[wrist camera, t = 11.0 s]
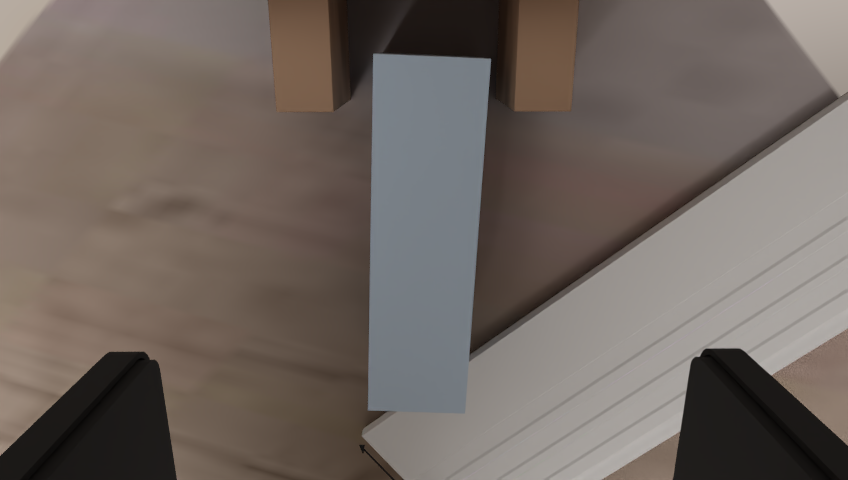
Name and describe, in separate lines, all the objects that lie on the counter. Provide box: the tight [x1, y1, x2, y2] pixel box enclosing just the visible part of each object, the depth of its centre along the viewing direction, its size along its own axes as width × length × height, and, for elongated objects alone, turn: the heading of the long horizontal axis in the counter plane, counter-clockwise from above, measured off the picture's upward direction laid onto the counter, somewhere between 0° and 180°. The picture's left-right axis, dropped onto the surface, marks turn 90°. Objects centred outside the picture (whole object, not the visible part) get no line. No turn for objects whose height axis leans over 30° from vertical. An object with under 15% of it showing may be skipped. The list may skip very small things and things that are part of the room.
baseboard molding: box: [359, 92, 848, 480], centre depth 29 cm, size 31×3×12 cm
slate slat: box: [368, 52, 491, 414], centre depth 25 cm, size 4×14×6 cm, turn 178°
